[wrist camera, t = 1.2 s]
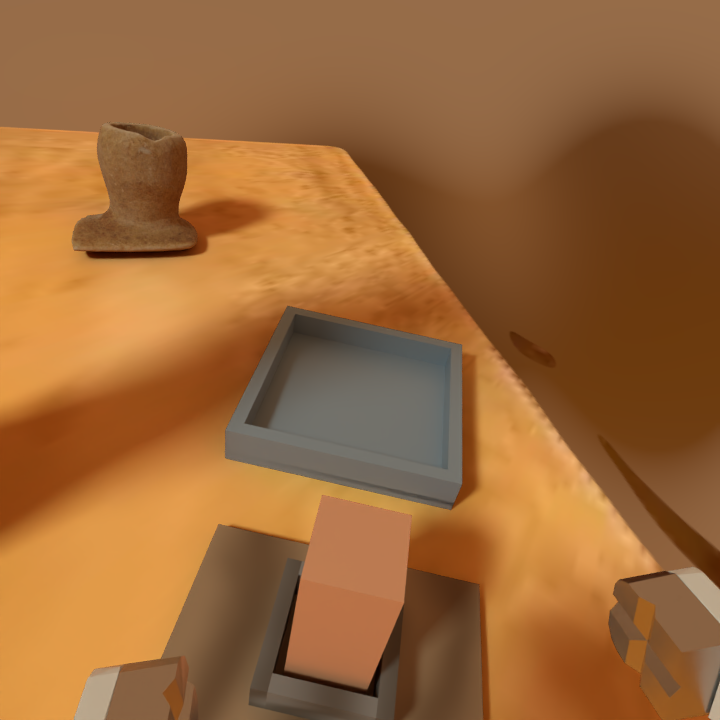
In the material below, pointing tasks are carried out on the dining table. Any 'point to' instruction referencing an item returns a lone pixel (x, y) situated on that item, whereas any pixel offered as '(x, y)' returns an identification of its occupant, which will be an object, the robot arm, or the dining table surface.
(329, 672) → the terracotta block
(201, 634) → the holder
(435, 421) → the tray
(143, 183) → the stone cup
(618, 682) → the dining table surface
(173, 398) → the dining table surface
